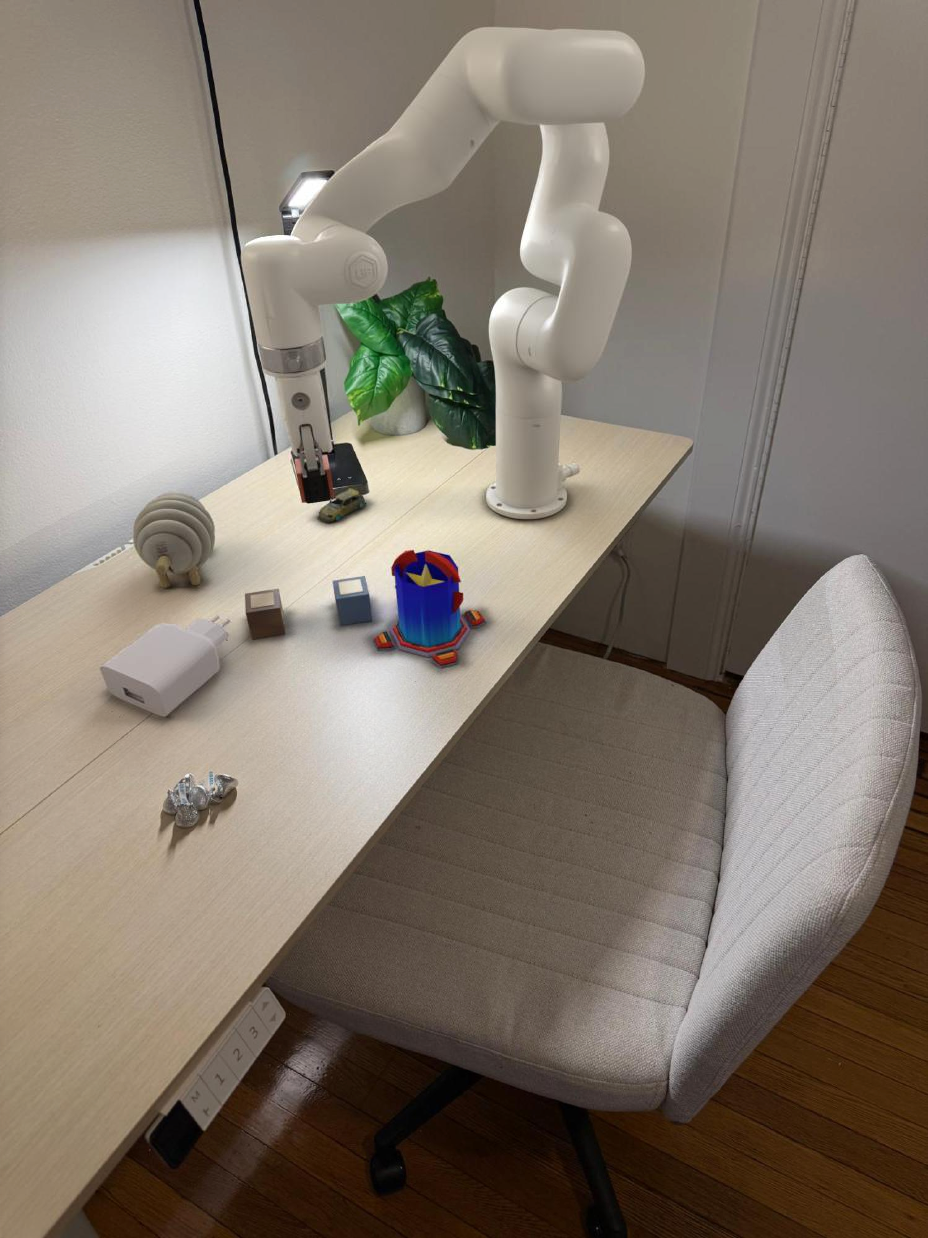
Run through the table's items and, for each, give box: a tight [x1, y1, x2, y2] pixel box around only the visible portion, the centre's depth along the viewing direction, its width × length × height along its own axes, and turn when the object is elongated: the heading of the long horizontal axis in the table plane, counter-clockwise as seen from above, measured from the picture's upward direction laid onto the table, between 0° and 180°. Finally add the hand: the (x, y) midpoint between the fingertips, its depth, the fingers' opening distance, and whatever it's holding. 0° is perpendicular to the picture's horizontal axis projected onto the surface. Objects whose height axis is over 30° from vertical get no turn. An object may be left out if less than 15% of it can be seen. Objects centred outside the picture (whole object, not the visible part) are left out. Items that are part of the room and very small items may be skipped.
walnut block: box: [244, 588, 287, 640], centre depth 103 cm, size 4×4×4 cm
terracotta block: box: [294, 454, 335, 504], centre depth 105 cm, size 4×4×4 cm
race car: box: [316, 487, 367, 524], centre depth 126 cm, size 4×8×2 cm, turn 138°
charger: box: [99, 614, 231, 718], centre depth 97 cm, size 5×9×15 cm
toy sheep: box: [132, 491, 216, 589], centre depth 111 cm, size 11×17×11 cm, turn 10°
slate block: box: [332, 575, 373, 626], centre depth 105 cm, size 4×4×4 cm
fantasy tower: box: [372, 549, 488, 669], centre depth 99 cm, size 12×12×12 cm
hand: (316, 490), depth 106 cm, fingers closed on terracotta block, 4 cm apart
